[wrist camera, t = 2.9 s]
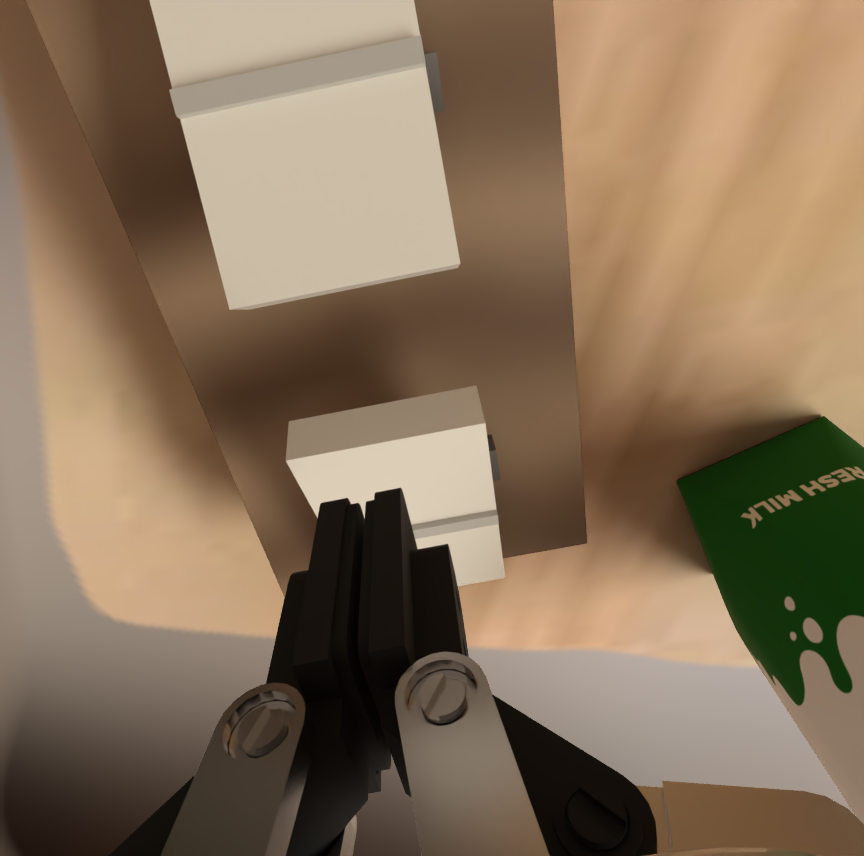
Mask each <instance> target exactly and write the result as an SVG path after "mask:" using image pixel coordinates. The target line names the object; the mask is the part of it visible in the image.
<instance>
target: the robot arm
mask: <svg viewBox="0 0 864 856" xmlns="http://www.w3.org/2000/svg"><path fill="white" fill-rule="evenodd" d="M391 755H392V757H393V760H394V763H395V765H396V768H397V771H398V773H399V776H400V779H401V782H402V784H403V787H404V790H405V792H406V794H408V795H409V796H410V797H411V798H412V804H413V809H414V815H415V820H416V826H417V832H418V837H419V843H420V849H421V854H422V856H864V824H863V823H862V822H861V821H860V820H859V819H858V818H857V817H856V816H855V815H854V814H853V813H852V812H851V811H850V810H848V809H847V808H846V807H844V806H842V805H840V804H838V803H837V802H835V801H833V800H831V799H829V798H828V797H826V796H822V795H817V794H813V793H809V792H805V791H794V790H780V789H767V788H753V787H739V786H725V785H711V784H698V783H684V782H670V781H662V788H659V787H647V786H635V785H634V784H632V783H631V782H630V781H629V780H628V779H627V778H625V777H624V776H623V775H621V774H620V773H618V772H617V771H615V770H613V769H612V768H610V767H608V766H607V765H605V764H603V763H602V762H600V761H599V760H597V759H596V758H594V757H592V756H591V755H589V754H587V753H586V752H584V751H583V750H581V749H579V748H578V747H576V746H574V745H573V744H571V743H570V742H568V741H566V740H565V739H563V738H562V737H560V736H558V735H557V734H555V733H553V732H552V731H550V730H549V729H547V728H545V727H544V726H542V725H540V724H539V723H537V722H536V721H534V720H532V719H531V718H529V717H528V716H526V715H525V714H523V713H521V712H520V711H518V710H516V709H515V708H513V707H512V706H510V705H508V704H507V703H505V702H504V701H502V700H500V699H499V698H497V697H495V696H494V695H492V693H491V690H490V688H489V684H488V682H487V679H486V676H485V675H484V673H483V671H482V669H481V668H480V666H479V665H478V664H477V663H476V662H474V661H473V660H472V659H471V658H469V656H468V649H467V642H466V636H465V629H464V622H463V615H462V609H461V603H460V597H459V591H458V586H457V581H456V576H455V571H454V566H453V562H452V557H451V553H450V549H449V545H448V544H444V545H439V546H433V547H428V548H423V549H418V548H417V545H416V541H415V537H414V533H413V529H412V525H411V521H410V517H409V513H408V509H407V505H406V502H405V498H404V494H403V491H402V488H396V489H391V490H386V491H381V492H376V493H375V495H374V500H371V501H366V506H365V518H364V515H363V512H362V509H361V506H360V504H359V503H355V504H351V503H350V501H349V499H348V498H344V499H339V500H334V501H328V502H323V503H321V504H320V507H319V513H318V519H317V524H316V530H315V535H314V541H313V546H312V552H311V558H310V563H309V569H308V570H305V571H300V572H295V573H292V574H291V576H290V578H289V581H288V585H287V590H286V595H285V599H284V604H283V608H282V613H281V618H280V622H279V627H278V631H277V636H276V641H275V646H274V650H273V654H272V659H271V664H270V668H269V673H268V678H267V682H266V684H264V685H260V686H258V687H256V688H253V689H251V690H249V691H247V692H246V693H244V694H243V695H242V696H240V697H239V698H237V699H236V700H235V701H234V702H233V703H232V704H231V705H230V706H229V707H228V708H227V710H226V711H225V712H224V713H223V715H222V717H221V718H220V720H219V722H218V724H217V725H216V728H215V730H214V732H213V735H212V737H211V739H210V742H209V744H208V746H207V749H206V751H205V754H204V756H203V758H202V760H201V763H200V765H199V767H198V770H197V772H196V774H195V776H194V777H192V778H191V779H190V780H189V781H188V782H187V783H186V784H185V785H184V786H183V787H182V788H181V789H180V790H179V791H177V792H176V793H175V794H174V795H173V796H172V797H171V798H170V799H169V800H168V801H167V802H166V803H165V804H164V805H162V806H161V807H160V808H159V809H158V810H157V811H156V812H155V813H154V814H153V815H152V816H151V817H150V818H149V819H147V820H146V821H145V822H144V823H143V824H142V825H141V826H140V827H139V828H138V829H137V830H136V831H135V832H134V833H133V834H131V835H130V836H129V837H128V838H127V839H126V840H125V841H124V842H123V843H122V844H121V845H120V846H119V847H117V848H116V849H115V850H114V851H113V852H112V853H111V854H110V855H109V856H352V854H353V848H354V842H355V837H356V823H357V819H356V813H357V812H358V811H359V810H360V809H361V807H362V806H363V805H364V804H365V803H366V801H367V800H368V793H374V792H379V791H381V770H387V769H390V766H391Z"/></svg>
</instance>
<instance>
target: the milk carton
mask: <svg viewBox="0 0 864 856" xmlns="http://www.w3.org/2000/svg"><path fill="white" fill-rule="evenodd" d="M677 483H678V486H679V488H680V491H681V493H682V496H683V499H684V501H685V504H686V506H687V509H688V511H689V514H690V516H691V519H692V522H693V524H694V527H695V529H696V532H697V534H698V537H699V539H700V542H701V545H702V547H703V550H704V552H705V555H706V557H707V560H708V562H709V565H710V567H711V570H712V573H713V575H714V578H715V580H716V583H717V585H718V588H719V590H720V593H721V595H722V598H723V600H724V603H725V605H726V608H727V610H728V612H729V615H730V617H731V619H732V621H733V623H734V626H735V628H736V630H737V632H738V633H739V635H740V637H741V639H742V640H743V642H744V644H745V645H746V647H747V648H748V650H749V652H750V653H751V655H752V656H753V658H754V660H755V661H756V663H757V664H758V666H759V667H760V669H761V670H762V672H763V674H764V675H765V676H766V678H767V680H768V681H769V683H770V684H771V686H772V687H773V689H774V690H775V692H776V693H777V695H778V697H779V698H780V700H781V701H782V703H783V704H784V706H785V707H786V709H787V711H788V712H789V714H790V715H791V717H792V718H793V720H794V721H795V723H796V724H797V726H798V727H799V729H800V731H801V732H802V734H803V735H804V737H805V738H806V740H807V741H808V743H809V744H810V746H811V747H812V749H813V750H814V752H815V754H816V755H817V757H818V758H819V760H820V761H821V763H822V764H823V766H824V767H825V769H826V770H827V772H828V774H829V775H830V777H831V778H832V780H833V781H834V783H835V784H836V786H837V787H838V789H839V791H840V792H841V794H842V795H843V797H844V798H845V800H846V801H847V803H848V804H849V806H850V807H851V809H852V811H853V812H854V814H855V815H856V817H857V818H858V819H859V820H860V821H861V822H862V823H863V824H864V448H863V447H862V446H861V445H860V444H858V443H857V442H856V441H855V440H853V439H852V438H851V437H850V436H848V435H847V434H846V433H844V432H843V431H842V430H841V429H839V428H838V427H837V426H836V425H834V424H833V423H832V422H831V421H829V420H828V419H827V418H826V417H824V416H823V417H821V418H818V419H816V420H814V421H811V422H809V423H807V424H805V425H802V426H800V427H798V428H796V429H793V430H791V431H789V432H786V433H784V434H782V435H780V436H777V437H775V438H773V439H770V440H768V441H766V442H764V443H761V444H759V445H757V446H755V447H752V448H750V449H748V450H745V451H743V452H741V453H739V454H736V455H734V456H732V457H730V458H727V459H725V460H723V461H720V462H718V463H716V464H714V465H711V466H709V467H707V468H704V469H702V470H700V471H698V472H695V473H693V474H691V475H689V476H686V477H684V478H682V479H679V480H677Z"/></svg>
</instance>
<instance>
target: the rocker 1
mask: <svg viewBox="0 0 864 856" xmlns="http://www.w3.org/2000/svg"><path fill="white" fill-rule="evenodd" d="M149 1H150V5H151V8H152V12H153V16H154V20H155V24H156V28H157V32H158V35H159V39H160V43H161V47H162V51H163V55H164V59H165V62H166V66H167V70H168V74H169V78H170V82H171V86H172V89H170V90H169V91H170V95H171V99H172V103H173V107H174V110H175V114H176V116H177V117H178V118H179V119H180V120H181V124H182V128H183V132H184V136H185V140H186V144H187V147H188V151H189V155H190V159H191V163H192V167H193V171H194V174H195V178H196V182H197V186H198V190H199V194H200V198H201V201H202V205H203V209H204V213H205V217H206V221H207V225H208V228H209V232H210V236H211V240H212V244H213V248H214V252H215V256H216V259H217V263H218V267H219V271H220V275H221V279H222V283H223V286H224V290H225V294H226V298H227V302H228V306H229V310H250V309H255V308H260V307H265V306H270V305H275V304H280V303H285V302H290V301H295V300H300V299H305V298H310V297H315V296H320V295H325V294H330V293H335V292H340V291H345V290H350V289H355V288H360V287H365V286H370V285H375V284H380V283H385V282H390V281H395V280H400V279H405V278H410V277H415V276H420V275H425V274H430V273H435V272H441V271H446V270H451V269H456V268H458V267H459V265H460V258H459V253H458V247H457V241H456V236H455V230H454V224H453V219H452V213H451V207H450V202H449V196H448V190H447V185H446V179H445V173H444V168H443V162H442V156H441V151H440V145H439V139H438V134H437V128H436V122H435V117H434V111H433V105H432V100H431V94H430V88H429V83H428V77H427V71H426V62H425V56H424V51H423V45H422V39H421V35H420V31H419V26H418V20H417V14H416V9H415V3H414V0H149Z"/></svg>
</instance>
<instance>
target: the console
mask: <svg viewBox="0 0 864 856" xmlns="http://www.w3.org/2000/svg"><path fill="white" fill-rule="evenodd" d="M26 3H27V5H28V7H29V10H30V12H31V14H32V16H33V19H34V21H35V23H36V26H37V28H38V30H39V33H40V35H41V37H42V40H43V42H44V44H45V46H46V49H47V51H48V53H49V56H50V58H51V60H52V63H53V65H54V67H55V69H56V72H57V74H58V76H59V79H60V81H61V83H62V86H63V88H64V90H65V92H66V95H67V97H68V99H69V102H70V104H71V106H72V109H73V111H74V113H75V116H76V118H77V120H78V122H79V125H80V127H81V129H82V132H83V134H84V136H85V139H86V141H87V143H88V145H89V148H90V150H91V152H92V155H93V157H94V159H95V162H96V164H97V166H98V168H99V171H100V173H101V175H102V178H103V180H104V182H105V185H106V187H107V189H108V192H109V194H110V196H111V198H112V201H113V203H114V205H115V208H116V210H117V212H118V215H119V217H120V219H121V221H122V224H123V226H124V228H125V231H126V233H127V235H128V238H129V240H130V242H131V245H132V247H133V249H134V251H135V254H136V256H137V258H138V261H139V263H140V265H141V268H142V270H143V272H144V274H145V277H146V279H147V281H148V284H149V286H150V288H151V291H152V293H153V295H154V297H155V300H156V302H157V304H158V307H159V309H160V311H161V314H162V316H163V318H164V321H165V323H166V325H167V327H168V330H169V332H170V334H171V337H172V339H173V341H174V344H175V346H176V348H177V350H178V353H179V355H180V357H181V360H182V362H183V364H184V367H185V369H186V371H187V373H188V376H189V378H190V380H191V383H192V385H193V387H194V390H195V392H196V394H197V397H198V399H199V401H200V403H201V406H202V408H203V410H204V413H205V415H206V417H207V420H208V422H209V424H210V426H211V429H212V431H213V433H214V436H215V438H216V440H217V443H218V445H219V447H220V449H221V452H222V454H223V456H224V459H225V461H226V463H227V466H228V468H229V470H230V473H231V475H232V477H233V479H234V482H235V484H236V486H237V489H238V491H239V493H240V496H241V498H242V500H243V502H244V505H245V507H246V509H247V512H248V514H249V516H250V519H251V521H252V523H253V526H254V528H255V530H256V532H257V535H258V537H259V539H260V542H261V544H262V546H263V549H264V551H265V553H266V555H267V558H268V560H269V562H270V565H271V567H272V569H273V572H274V574H275V576H276V578H277V581H278V583H279V585H280V588H281V590H282V592H283V595H284V597H285V595H286V590H287V585H288V581H289V578H290V576H291V574H292V573H295V572H300V571H305V570H308V569H309V563H310V558H311V552H312V546H313V541H314V535H315V530H316V524H317V519H318V518H317V516H316V515H315V513H314V511H313V509H312V507H311V506H310V504H309V502H308V500H307V498H306V497H305V495H304V493H303V491H302V489H301V488H300V486H299V484H298V482H297V480H296V479H295V477H294V475H293V473H292V471H291V470H290V468H289V466H288V464H287V462H286V450H287V437H288V425H289V421H293V420H298V419H304V418H309V417H314V416H319V415H324V414H330V413H335V412H340V411H345V410H351V409H356V408H361V407H366V406H372V405H377V404H382V403H387V402H392V401H398V400H403V399H408V398H413V397H419V396H424V395H429V394H434V393H440V392H445V391H450V390H455V389H460V388H466V387H471V386H477V390H478V394H479V398H480V402H481V406H482V411H483V415H484V419H485V423H486V431H487V439H488V447H489V454H490V462H491V470H492V478H493V486H494V494H495V501H496V509H497V514H498V521H499V524H498V525H499V533H500V540H501V548H502V556H503V558H507V557H513V556H518V555H524V554H530V553H535V552H541V551H546V550H552V549H558V548H563V547H569V546H574V545H580V544H585V543H587V534H586V518H585V502H584V486H583V470H582V454H581V438H580V422H579V406H578V391H577V375H576V359H575V343H574V327H573V311H572V295H571V279H570V263H569V248H568V232H567V216H566V200H565V184H564V168H563V152H562V136H561V120H560V104H559V89H558V73H557V57H556V41H555V25H554V9H553V0H414V3H415V9H416V14H417V20H418V26H419V31H420V35H421V39H422V45H423V51H424V56H425V62H426V71H427V77H428V83H429V88H430V94H431V100H432V105H433V111H434V117H435V122H436V128H437V134H438V139H439V145H440V151H441V156H442V162H443V168H444V173H445V179H446V185H447V190H448V196H449V202H450V207H451V213H452V219H453V224H454V230H455V236H456V241H457V247H458V253H459V258H460V265H459V267H458V268H456V269H451V270H446V271H441V272H435V273H430V274H425V275H420V276H415V277H410V278H405V279H400V280H395V281H390V282H385V283H380V284H375V285H370V286H365V287H360V288H355V289H350V290H345V291H340V292H335V293H330V294H325V295H320V296H315V297H310V298H305V299H300V300H295V301H290V302H285V303H280V304H275V305H270V306H265V307H260V308H255V309H250V310H229V306H228V302H227V298H226V294H225V290H224V286H223V283H222V279H221V275H220V271H219V267H218V263H217V259H216V256H215V252H214V248H213V244H212V240H211V236H210V232H209V228H208V225H207V221H206V217H205V213H204V209H203V205H202V201H201V198H200V194H199V190H198V186H197V182H196V178H195V174H194V171H193V167H192V163H191V159H190V155H189V151H188V147H187V144H186V140H185V136H184V132H183V128H182V124H181V120H180V119H179V118H178V117H177V116H176V114H175V110H174V107H173V103H172V99H171V95H170V91H169V90H170V89H172V86H171V82H170V78H169V74H168V70H167V66H166V62H165V59H164V55H163V51H162V47H161V43H160V39H159V35H158V32H157V28H156V24H155V20H154V16H153V12H152V8H151V5H150V1H149V0H26Z"/></svg>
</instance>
